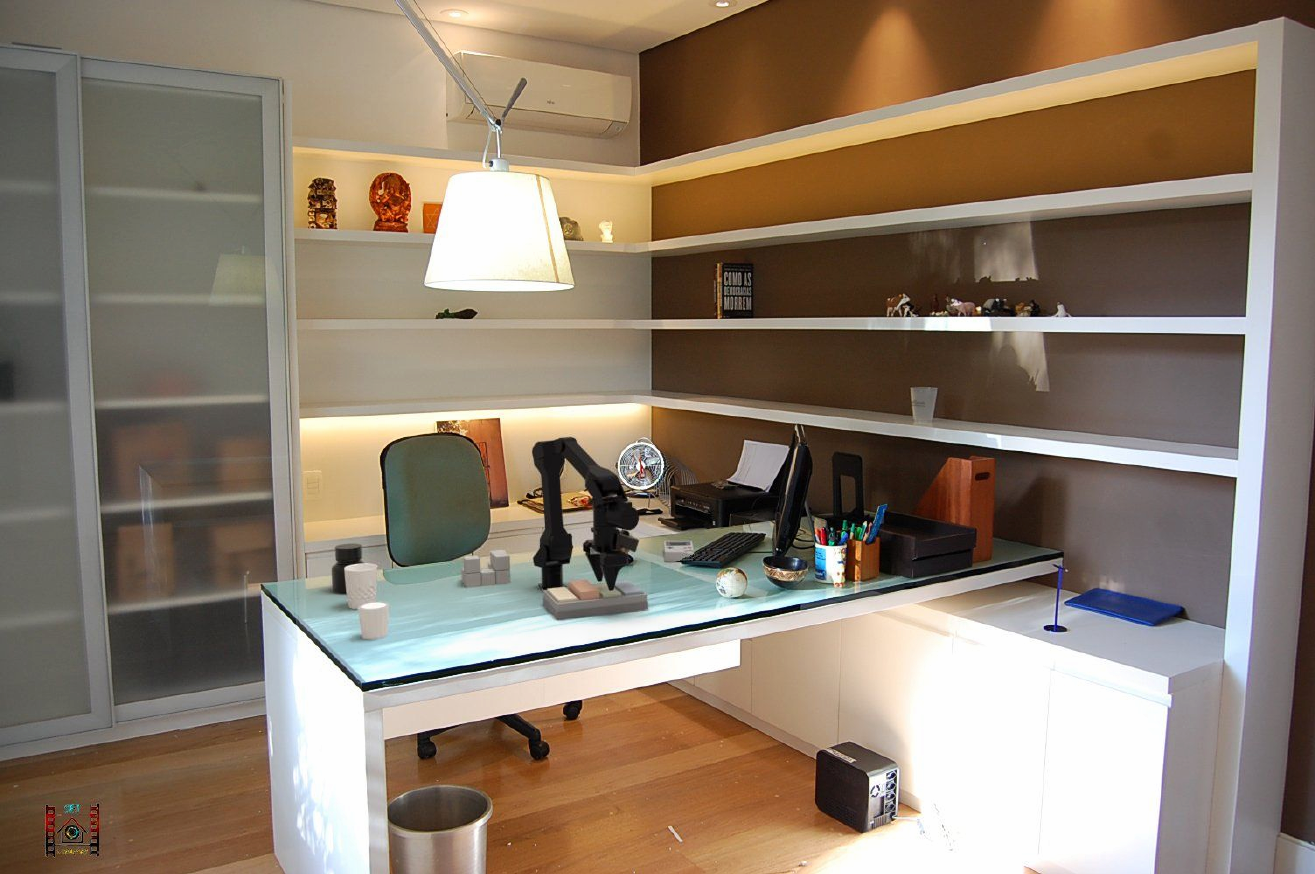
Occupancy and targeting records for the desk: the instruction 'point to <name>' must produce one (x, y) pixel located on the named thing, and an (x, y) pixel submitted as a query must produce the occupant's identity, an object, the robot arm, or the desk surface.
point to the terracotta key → (583, 590)
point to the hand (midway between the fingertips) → (605, 585)
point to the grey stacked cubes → (486, 570)
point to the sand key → (561, 595)
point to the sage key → (606, 591)
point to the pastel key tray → (594, 606)
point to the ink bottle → (344, 564)
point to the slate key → (627, 588)
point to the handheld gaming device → (677, 550)
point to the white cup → (361, 584)
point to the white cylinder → (374, 619)
